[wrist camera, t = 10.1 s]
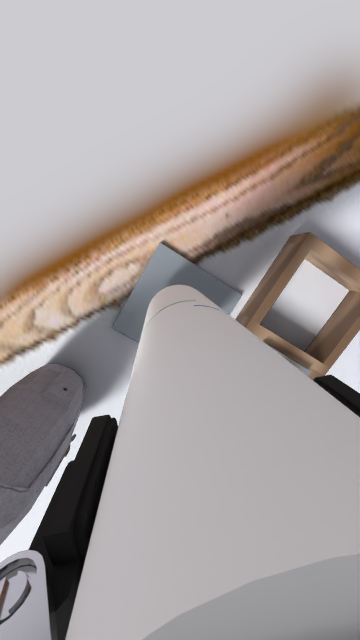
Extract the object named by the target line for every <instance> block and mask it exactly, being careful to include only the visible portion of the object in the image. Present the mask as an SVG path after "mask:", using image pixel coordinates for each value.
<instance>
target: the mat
mask: <svg viewBox="0 0 360 640" xmlns="http://www.w3.org/2000/svg"><path fill="white" fill-rule="evenodd" d="M172 285H187V286H190V287H192V288H194V289H196V290H198V291H199V292H200V293H202V294H203V295H204V296H206V297H207V298H208V299H209V300H211V301H212V302H213V303H214V304H216V305H217V306H218V307H220V308H221V309H222V310H223V311H225V312H226V313H227V314H228V315H229V314H230V313H231V311H232V310H233V308H234V307H235V305H236V304H237V302H238V301H239V299H240V298H241V296H242V294H240V293H239V292H237V291H236V290H234V289H232V288H231V287H229V286H228V285H226V284H225V283H223V282H221V281H220V280H218V279H217V278H215V277H214V276H212V275H210V274H209V273H207V272H206V271H204V270H203V269H201V268H199V267H198V266H196V265H195V264H193V263H192V262H190V261H188V260H187V259H185V258H184V257H182V256H181V255H179V254H177V253H176V252H174V251H173V250H171V249H170V248H168V247H166V246H165V245H163V244H162V243H160V244H159V245H158V247H157V249H156V251H155V252H154V254H153V256H152V258H151V259H150V261H149V263H148V265H147V266H146V268H145V270H144V272H143V273H142V275H141V277H140V279H139V280H138V282H137V284H136V286H135V288H134V289H133V291H132V293H131V295H130V296H129V298H128V300H127V302H126V303H125V305H124V307H123V309H122V310H121V312H120V314H119V316H118V317H117V319H116V321H115V323H114V324H113V326H112V328H113V329H114V330H116V331H118V332H120V333H122V334H124V335H126V336H127V337H129V338H131V339H133V340H135V341H137V342H140V338H141V334H142V330H143V326H144V322H145V318H146V314H147V310H148V307H149V304H150V302H151V300H152V299H153V297H154V296H155V295H156V294H157V293H158V292H159V291H161V290H162V289H164V288H166V287H169V286H172Z"/></svg>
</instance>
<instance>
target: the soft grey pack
mask: <svg viewBox="0 0 360 640" xmlns="http://www.w3.org/2000/svg"><path fill="white" fill-rule="evenodd" d="M85 390H86V386H85V384H84V381H83V379H82V378H81V377H80V376H79V375H78V374H77V373H76V372H75V371H73V370H72V369H70V368H68V367H65V366H62V365H60V364H46V365H44V366H42V367H41V368H39V369H37V370H35V371H33V372H31V373H30V374H28V375H27V376H26V377H24V378H23V379H21V380H20V381H19V382H17V383H16V384H14V385H13V386H12V387H10V388H9V389H8V390H7V391H6V392H5V393H4V394H3V395H2V396H1V397H0V545H1V544H2V542H3V541H4V540H5V539H6V538H7V537H8V535H9V534H10V533H11V532H12V531H13V530H14V529H15V527H16V526H17V525H18V524H19V523H20V522H21V520H22V519H23V518H24V517H25V516H26V515H27V513H28V512H29V511H30V509H31V508H32V506H33V505H34V503H35V501H36V500H37V498H38V496H39V495H40V493H41V492H42V490H43V488H44V487H45V486H46V487H47V485H48V484H49V482H50V480H51V479H52V477H53V475H54V474H55V472H56V470H57V468H58V467H59V465H60V463H61V461H62V460H63V458H64V457H65V456H67V454H68V452H69V450H70V443H71V442H72V441H73V440H74V438H75V437H76V434H74V435H73V436H72V433H73V431H74V428H75V426H76V423H77V421H78V417H79V413H80V410H81V406H82V402H83V398H84V394H85Z"/></svg>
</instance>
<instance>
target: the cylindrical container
mask: <svg viewBox="0 0 360 640" xmlns="http://www.w3.org/2000/svg"><path fill="white" fill-rule="evenodd" d="M65 640H360V417H359V416H357V415H356V414H355V413H353V412H352V411H351V410H350V409H348V408H347V407H346V406H345V405H343V404H342V403H341V402H339V401H338V400H337V399H336V398H334V397H333V396H332V395H331V394H329V393H328V392H327V391H325V390H324V389H323V388H322V387H320V386H319V385H318V384H317V383H315V382H314V381H313V380H311V379H310V378H309V377H308V376H306V375H305V374H304V373H303V372H301V371H300V370H299V369H298V368H296V367H295V366H294V365H292V364H291V363H290V362H289V361H287V360H286V359H285V358H284V357H282V356H281V355H280V354H278V353H277V352H276V351H275V350H273V349H272V348H271V347H269V346H268V345H267V344H266V343H264V342H263V341H262V340H260V339H259V338H258V337H257V336H255V335H254V334H253V333H251V332H250V331H249V330H248V329H246V328H245V327H244V326H242V325H241V324H240V323H239V322H237V321H236V320H235V319H233V318H232V317H231V316H230V315H228V314H227V313H226V312H225V311H223V310H222V309H221V308H220V307H218V306H217V305H216V304H214V303H213V302H212V301H211V300H209V299H208V298H207V297H206V296H204V295H203V294H202V293H200V292H199V291H198V290H196V289H194V288H192V287H190V286H187V285H172V286H169V287H166V288H164V289H162V290H161V291H159V292H158V293H157V294H156V295H155V296H154V297H153V299H152V300H151V302H150V304H149V307H148V310H147V314H146V318H145V322H144V326H143V330H142V334H141V338H140V342H139V346H138V350H137V354H136V358H135V362H134V366H133V370H132V374H131V378H130V382H129V386H128V390H127V394H126V398H125V402H124V406H123V410H122V414H121V418H120V422H119V426H118V430H117V434H116V438H115V442H114V446H113V450H112V454H111V458H110V462H109V466H108V470H107V474H106V478H105V482H104V486H103V490H102V494H101V498H100V502H99V506H98V510H97V514H96V518H95V522H94V526H93V530H92V534H91V538H90V542H89V546H88V550H87V555H86V559H85V563H84V567H83V571H82V575H81V579H80V583H79V587H78V591H77V595H76V599H75V603H74V607H73V611H72V615H71V619H70V623H69V627H68V631H67V635H66V639H65Z"/></svg>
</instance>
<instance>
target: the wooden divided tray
mask: <svg viewBox="0 0 360 640" xmlns="http://www.w3.org/2000/svg"><path fill="white" fill-rule="evenodd" d="M304 259H306V260H308V261H309V262H310V263H312V264H313V265H315V266H316V267H317V268H319V269H320V270H322V271H323V272H324V273H326V274H327V275H329V276H330V277H331V278H333V279H334V280H336V281H337V282H338V283H340V284H341V285H343V286H344V287H345V288H347V289H348V290H350V291H349V293H348V294H347V295H346V297H345V298H344V299H343V301H342V302H341V303H340V305H339V306H338V308H337V309H336V310H335V312H334V313H333V314H332V316H331V317H330V318H329V320H328V321H327V322H326V324H325V325H324V327H323V328H322V329H321V331H320V332H319V333H318V335H317V336H316V337H315V339H314V340H313V341H312V343H311V344H310V346H309V347H308V348H307V350H306V351H305V352H304V351H302V350H300V349H299V348H297V347H296V346H294V345H292V344H291V343H289V342H287V341H286V340H284V339H283V338H281V337H279V336H278V335H276V334H275V333H273V332H271V331H270V330H268V329H266V328H265V327H263V326H262V325H260V323H261V321H262V320H263V319H264V317H265V316H266V314H267V313H268V311H269V310H270V308H271V307H272V305H273V304H274V302H275V301H276V300H277V298H278V297H279V295H280V294H281V292H282V291H283V289H284V288H285V286H286V285H287V283H288V282H289V281H290V279H291V278H292V276H293V275H294V273H295V272H296V270H297V269H298V267H299V266H300V264H301V263H302V262H303V260H304ZM235 320H236V321H237V322H239V323H240V324H241V325H242V326H244V327H245V328H246V329H248V330H249V331H250V332H251V333H253V334H254V335H255V336H257V337H258V338H259V339H260V340H262V341H263V342H264V343H266V344H267V345H268V346H269V347H271V348H272V349H273V350H275V351H276V352H277V353H278V354H280V355H281V356H282V357H284V358H285V359H286V360H287V361H289V362H290V363H291V364H292V365H294V366H295V367H296V368H298V369H299V370H300V371H301V372H303V373H304V374H305V375H306V376H308V377H309V378H310V379H311V380H314V378H316V377H321V376H325V374H326V373H327V372H328V371H329V369H330V368H331V367H332V365H333V364H334V363H335V361H336V360H337V359H338V357H339V356H340V355H341V354H342V352H343V351H344V350H345V348H346V347H347V346H348V344H349V343H350V342H351V340H352V339H353V338H354V337H355V335H356V334H357V333H358V331H359V330H360V269H359V268H357V267H356V266H355V265H353V264H352V263H351V262H349V261H348V260H347V259H345V258H344V257H343V256H341V255H340V254H339V253H337V252H336V251H335V250H333V249H332V248H331V247H329V246H328V245H326V244H325V243H324V242H322V241H321V240H320V239H318V238H317V237H316V236H314V235H313V234H312V233H310V232H309V233H304V234H298V235H293V236H290V238H289V239H288V241H287V242H286V244H285V245H284V247H283V249H282V250H281V252H280V253H279V255H278V256H277V258H276V259H275V261H274V262H273V264H272V265H271V267H270V268H269V270H268V271H267V273H266V274H265V276H264V277H263V279H262V280H261V282H260V283H259V285H258V286H257V288H256V289H255V291H254V292H253V294H252V295H251V297H250V298H249V300H248V301H247V303H246V304H245V306H244V307H243V309H242V310H241V312H240V313H239V315H238V316H237V318H236V319H235Z"/></svg>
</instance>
